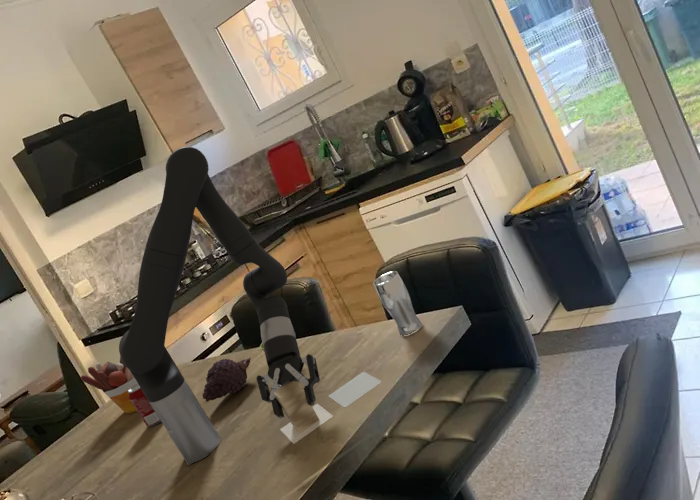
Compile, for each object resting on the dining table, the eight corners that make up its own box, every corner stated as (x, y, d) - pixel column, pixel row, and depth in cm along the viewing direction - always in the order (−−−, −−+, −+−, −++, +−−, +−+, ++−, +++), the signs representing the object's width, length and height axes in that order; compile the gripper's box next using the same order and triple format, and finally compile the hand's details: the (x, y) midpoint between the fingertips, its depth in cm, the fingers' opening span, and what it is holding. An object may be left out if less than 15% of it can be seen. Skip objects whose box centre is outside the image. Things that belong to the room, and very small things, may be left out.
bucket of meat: (144, 389, 223) (113, 340, 218) (177, 381, 214) (145, 330, 210) (103, 427, 207) (68, 375, 202) (136, 420, 198) (101, 365, 193)
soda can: (163, 423, 185) (140, 388, 182) (143, 431, 187) (121, 396, 184) (172, 410, 192) (151, 376, 189) (154, 417, 193) (132, 384, 191)
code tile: (294, 445, 137) (293, 443, 137) (280, 430, 147) (279, 429, 147) (334, 417, 140) (333, 415, 140) (318, 404, 150) (317, 403, 150)
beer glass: (423, 318, 166) (398, 267, 163) (425, 330, 160) (398, 276, 156) (398, 329, 168) (372, 279, 164) (398, 341, 161) (371, 288, 157)
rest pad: (345, 409, 141) (344, 407, 141) (328, 397, 151) (328, 395, 151) (382, 383, 144) (382, 381, 144) (364, 372, 154) (363, 371, 154)
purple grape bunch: (222, 413, 172) (203, 382, 169) (201, 413, 178) (182, 383, 176) (266, 372, 184) (249, 342, 181) (245, 374, 191) (228, 345, 188)
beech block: (299, 433, 140) (279, 398, 138) (292, 425, 145) (273, 392, 143) (319, 419, 142) (299, 385, 140) (311, 412, 146) (292, 379, 144)
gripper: (243, 348, 148) (258, 419, 139) (300, 323, 145) (318, 394, 136) (259, 357, 154) (274, 426, 145) (314, 334, 151) (332, 402, 143)
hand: (295, 410), depth 141 cm, fingers closed on beech block, 7 cm apart
